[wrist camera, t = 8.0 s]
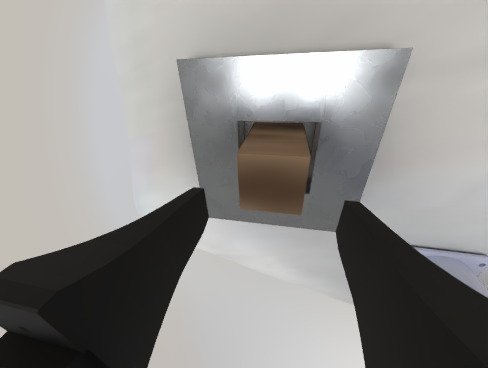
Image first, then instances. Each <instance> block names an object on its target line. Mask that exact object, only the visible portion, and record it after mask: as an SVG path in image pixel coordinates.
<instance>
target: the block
mask: <svg viewBox="0 0 488 368" xmlns="http://www.w3.org/2000/svg"><path fill="white" fill-rule="evenodd" d="M310 158H311V156H310V152H309V147H308V143H307V138H306V134H305V129H304V125H303V123H275V122H255V123H254V125H253V127H252V128H251V130H250V132H249V134H248V135H247V137H246V139H245V140H244V142H243V144H242V146H241V147H240V149H239V151H238V152H237V167H238V184H239V201H240V209H244V210H254V211H264V212H274V213H284V214H294V215H302V208H303V202H304V196H305V190H306V183H307V177H308V171H309V164H310Z"/></svg>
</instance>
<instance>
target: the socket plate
mask: <svg viewBox="0 0 488 368" xmlns="http://www.w3.org/2000/svg"><path fill="white" fill-rule="evenodd" d="M412 49H413V48H400V49H379V50H359V51H339V52H319V53H298V54H278V55H258V56H237V57H217V58H197V59H177V65H178V71H179V76H180V82H181V87H182V93H183V98H184V104H185V109H186V114H187V120H188V125H189V131H190V136H191V142H192V147H193V153H194V158H195V164H196V169H197V175H198V180H199V186H200V188H204V191H205V197H206V202H207V208H208V214H209V218H217V219H226V220H235V221H244V222H253V223H261V224H270V225H279V226H288V227H297V228H306V229H314V230H323V231H332V232H336V229H337V225H338V222H339V219H340V215H341V212H342V208H343V205H344V202H345V200H347V201H359V202H360V199H361V196H362V193H363V190H364V187H365V184H366V182H367V179H368V176H369V173H370V170H371V167H372V164H373V161H374V159H375V156H376V153H377V150H378V147H379V144H380V141H381V138H382V135H383V133H384V130H385V127H386V124H387V121H388V118H389V115H390V112H391V110H392V107H393V104H394V101H395V98H396V95H397V92H398V89H399V86H400V84H401V81H402V78H403V75H404V72H405V69H406V66H407V63H408V61H409V58H410V55H411V52H412ZM244 121H285V122H316V127H315V134H314V140H313V146H312V152H311V159H310V165H309V171H308V178H307V183H306V190H305V196H304V202H303V208H302V215H294V214H284V213H274V212H264V211H254V210H244V209H240V201H239V184H238V167H237V152H238V151H239V149H240V147H241V146H242V144H243V142H244V140H245V135H244Z"/></svg>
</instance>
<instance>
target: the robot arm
mask: <svg viewBox="0 0 488 368" xmlns="http://www.w3.org/2000/svg"><path fill="white" fill-rule="evenodd" d="M208 218H209V214H208V208H207V202H206V197H205V191H204V188H195V187H194V188H192V189H190V190H188V191H186V192H185V193H183V194H181V195H180V196H178V197H177V198H175V199H173V200H172V201H170V202H168V203H167V204H165V205H163V206H162V207H160V208H158V209H156V210H155V211H153V212H151V213H149V214H147V215H146V216H144V217H142V218H140V219H138V220H136V221H134V222H132V223H130V224H128V225H125V226H123V227H121V228H119V229H117V230H114V231H112V232H109V233H107V234H104V235H102V236H99V237H97V238H94V239H92V240H89V241H86V242H83V243H80V244H77V245H74V246H71V247H68V248H65V249H62V250H59V251H55V252H52V253H48V254H45V255H41V256H38V257H34V258H30V259H27V260H23V261H19V262H15V263H13V264H12V265H10V266H8V267H7V268H5V269H4V270H3V271H1V272H0V326H1V327H2V328H4V329H5V330H6V331H7V332H6V333H5V334H4V335H3V336H2V337H1V338H0V368H147V367H148V363H149V360H150V357H151V354H152V351H153V348H154V345H155V342H156V339H157V336H158V333H159V330H160V328H161V325H162V322H163V319H164V316H165V314H166V311H167V309H168V306H169V303H170V301H171V298H172V296H173V293H174V291H175V288H176V285H177V283H178V280H179V278H180V276H181V274H182V272H183V270H184V268H185V266H186V264H187V262H188V260H189V258H190V257H191V255H192V253H193V251H194V249H195V247H196V245H197V243H198V242H199V240H200V238H201V236H202V234H203V232H204V229H205V226H206V224H207V221H208ZM336 237H337V244H338V250H339V254H340V257H341V261H342V264H343V267H344V271H345V274H346V278H347V281H348V284H349V288H350V291H351V294H352V298H353V302H354V306H355V311H356V316H357V321H358V326H359V332H360V337H361V343H362V349H363V354H364V360H365V368H488V289H487V288H486V287H485V286H484V285H483V283H482V282H481V281H480V280H479V279H478V278H477V276H478V275H479V274H480V273H481V272H482V271H483V270H484V269H485V268H486V267H487V266H488V256H485V255H476V254H468V253H459V252H451V251H442V250H434V249H425V248H417V247H412V246H411V245H410V244H408V243H407V242H406V241H404V240H403V239H402V238H401V237H399V236H398V235H397V234H396V233H395V232H393V231H392V230H391V229H390V228H389V227H388V226H386V225H385V224H384V223H383V222H382V221H381V220H380V219H378V218H377V217H376V216H375V215H374V214H373V213H372V212H371V211H369V210H368V209H367V208H366V207H365V206H364V205H362V204H361V203H360V202H359V201H347V200H345V202H344V205H343V208H342V212H341V215H340V219H339V222H338V225H337V229H336Z"/></svg>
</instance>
